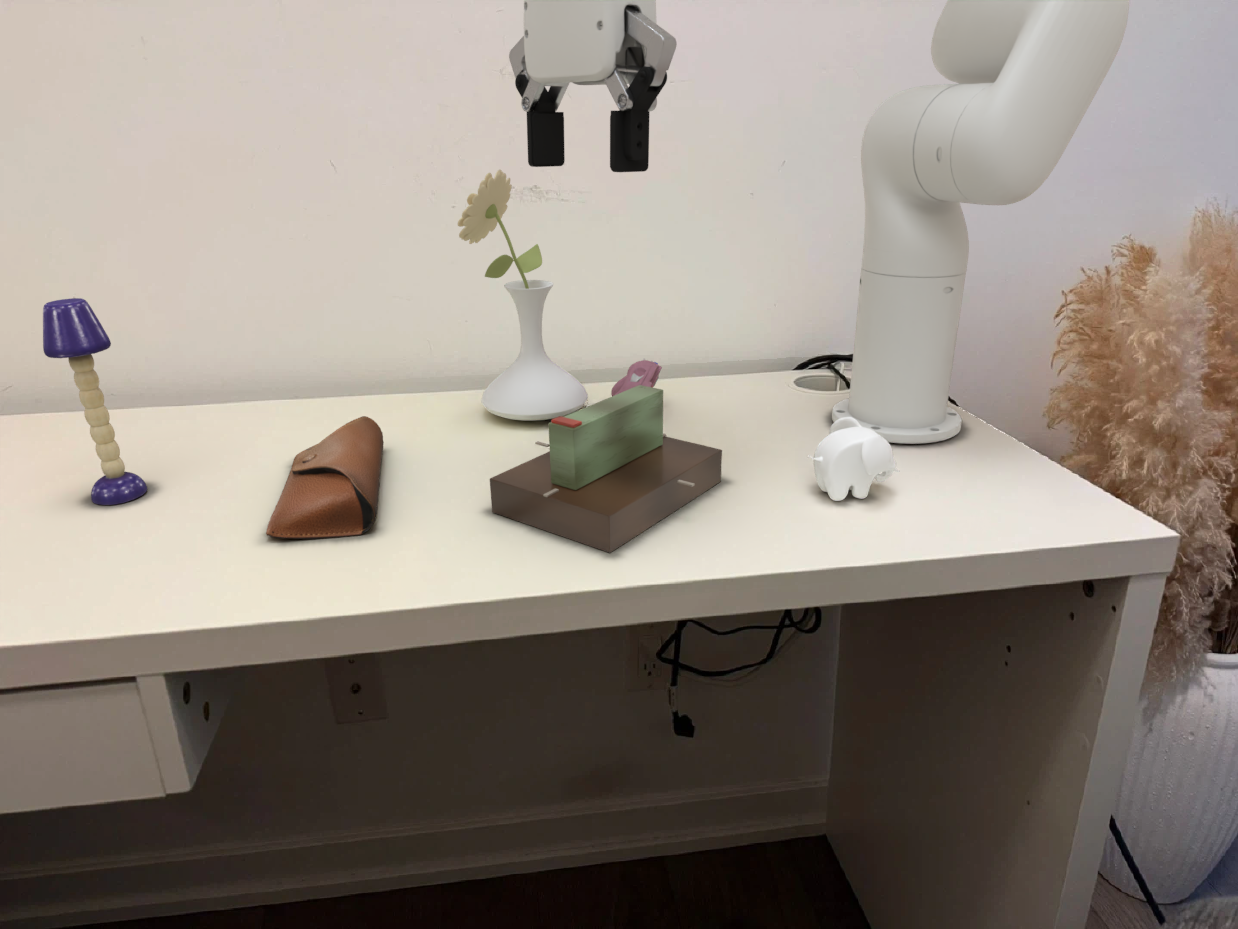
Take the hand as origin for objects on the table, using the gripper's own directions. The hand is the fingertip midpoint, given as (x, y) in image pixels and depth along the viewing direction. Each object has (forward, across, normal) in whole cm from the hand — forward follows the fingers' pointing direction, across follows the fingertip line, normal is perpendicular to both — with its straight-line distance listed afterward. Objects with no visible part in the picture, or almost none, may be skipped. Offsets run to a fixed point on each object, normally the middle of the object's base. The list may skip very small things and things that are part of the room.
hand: (585, 168), depth 64 cm
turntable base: (+26, -3, 0) cm, 26 cm away
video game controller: (+26, +11, -15) cm, 32 cm away
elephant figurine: (+26, -16, -15) cm, 34 cm away
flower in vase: (+26, +19, -8) cm, 33 cm away
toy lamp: (+27, +26, +31) cm, 49 cm away
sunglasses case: (+27, +14, +17) cm, 34 cm away
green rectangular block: (+23, -3, 0) cm, 23 cm away
